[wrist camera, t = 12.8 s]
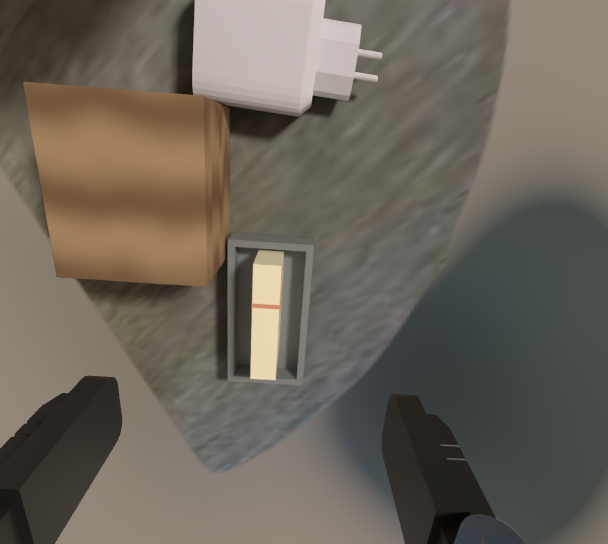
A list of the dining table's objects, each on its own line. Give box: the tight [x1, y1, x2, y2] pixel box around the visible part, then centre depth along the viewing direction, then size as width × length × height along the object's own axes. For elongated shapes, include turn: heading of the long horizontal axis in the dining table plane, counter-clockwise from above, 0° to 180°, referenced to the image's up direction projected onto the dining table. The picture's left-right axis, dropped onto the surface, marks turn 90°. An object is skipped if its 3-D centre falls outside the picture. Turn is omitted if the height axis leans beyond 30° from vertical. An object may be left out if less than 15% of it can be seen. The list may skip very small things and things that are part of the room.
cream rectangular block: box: [250, 248, 285, 380], centre depth 36 cm, size 12×3×6 cm, turn 176°
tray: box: [228, 233, 314, 385], centre depth 39 cm, size 16×8×3 cm, turn 176°
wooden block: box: [23, 82, 230, 287], centre depth 31 cm, size 15×12×10 cm
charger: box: [192, 0, 382, 117], centre depth 30 cm, size 5×9×15 cm
